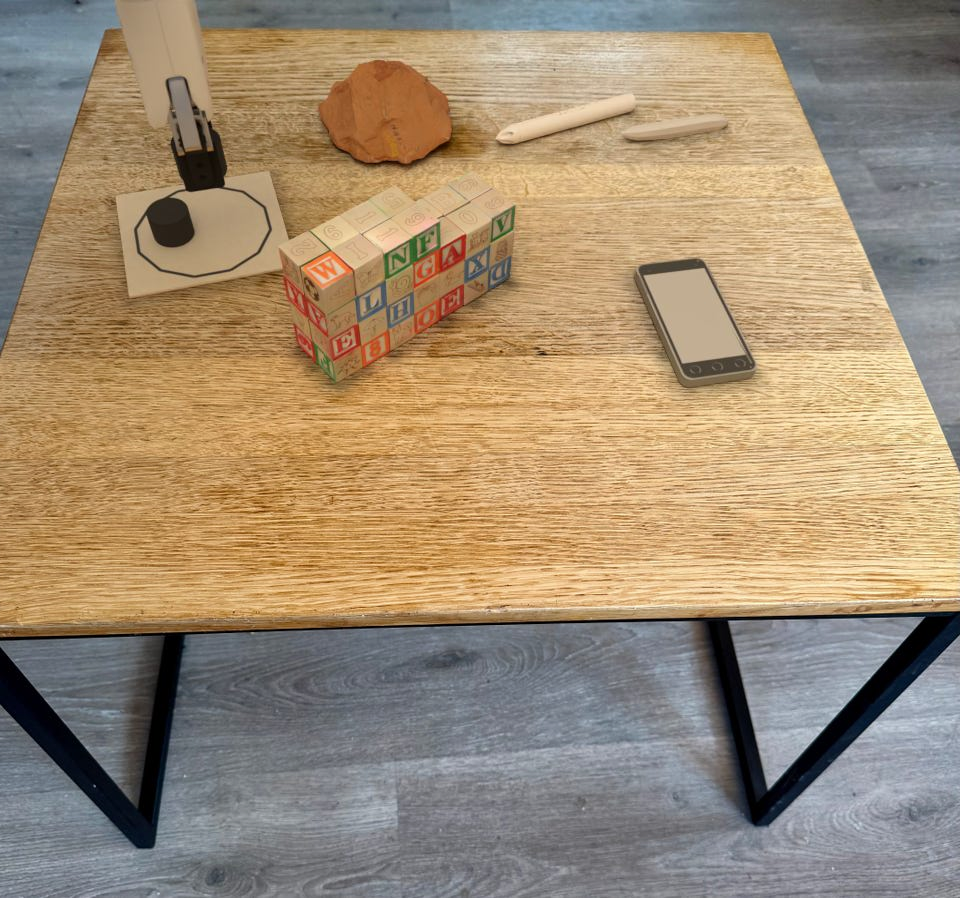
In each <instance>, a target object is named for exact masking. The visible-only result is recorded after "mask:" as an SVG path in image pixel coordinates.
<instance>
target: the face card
mask: <svg viewBox="0 0 960 898" xmlns="http://www.w3.org/2000/svg"><path fill="white" fill-rule="evenodd" d="M224 180H225V186H224V187H221V188H215V189H209V190H202V191H196V192H188V191H187V190H186V189H185V185H184V184H179V185H173V186H167V187H166V186H165V187H160V188H154V189H148V190H141V191H135V192H129V193H123V194H116V195H115V196H114V197H115V204H116V205H115V206H116V212H117V219H118V227H119V233H120V234H119V235H120V240H121V247H122V249H121V250H122V255H123V263H124V271H125V278H126V285H127V292H128V299H135V298H141V297H147V296H151V295H157V294H162V293H163V294H164V293H167V292H173V291H178V290H183V289H188V288H195V287H200V286H204V285H211V284H215V283H222V282H226V281H227V282H228V281H231V280H232V281H233V280H238V279H243V278H248V277H253V276H259V275H265V274H269V273H276V272H281V271H283V267H282V263H281V258H280V253H279V246H280V245H281V244H283V243H285V242H287V241H289V240H290V238H289V234H288V231H287V228H286V224H285V221H284V218H283V215H282V214H283V213H282V211H281V207H280V204H279V200H278V197H277V193H276V189H275V186H274V183H273V179H272V176H271V173H270V170H266V171H259V172H252V173H247V174H241V175H235V176H234V175H233V176H228V177H224ZM162 198H177V199H180V200H182V201H184V202H185V203H186V204H187V206H188V209H189V213H190V216H191V220H192V223H193V227H194V230H195V233H194V236H193V238H192V239H191V240H190V241H189V242H188V243H187V244H185V245H182V246H179V247H172V248H171V247H164V246H161V245H160V244H158V243H157V242H156V241H155V239H154V237H153V234H152V231H151V228H150V225H149V222H148V219H147V216H146V211H147V208H148V207H149V206H150V205H151V204H152V203H153V202H155V201H157V200H159V199H162Z"/></svg>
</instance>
